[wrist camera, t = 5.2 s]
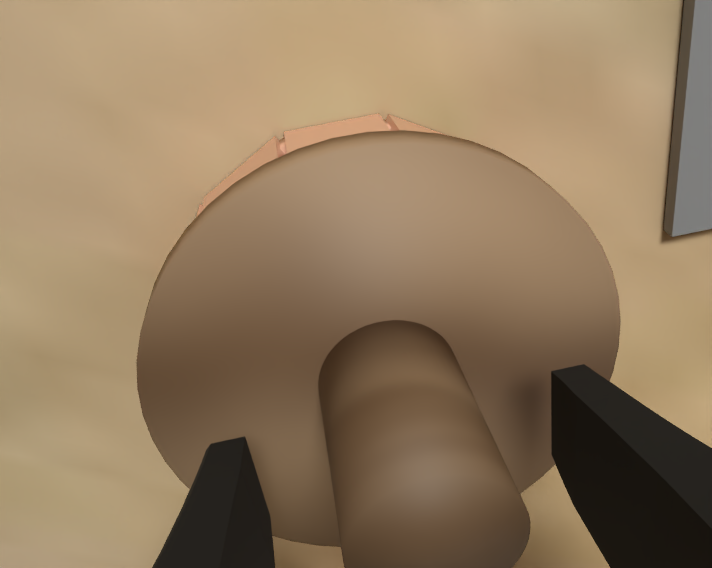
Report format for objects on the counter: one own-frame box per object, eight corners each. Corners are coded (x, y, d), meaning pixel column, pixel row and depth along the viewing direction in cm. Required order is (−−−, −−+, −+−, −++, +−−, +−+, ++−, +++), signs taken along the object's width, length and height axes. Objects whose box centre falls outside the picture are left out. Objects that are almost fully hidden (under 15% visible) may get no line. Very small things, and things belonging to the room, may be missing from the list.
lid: (578, 486, 17) (688, 675, 12) (193, 548, 16) (172, 773, 12) (630, 102, 12) (834, 202, 8) (84, 162, 11) (-15, 309, 7)
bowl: (532, 390, 19) (579, 470, 16) (231, 455, 19) (228, 548, 16) (525, 85, 15) (588, 123, 12) (132, 160, 14) (104, 218, 12)
